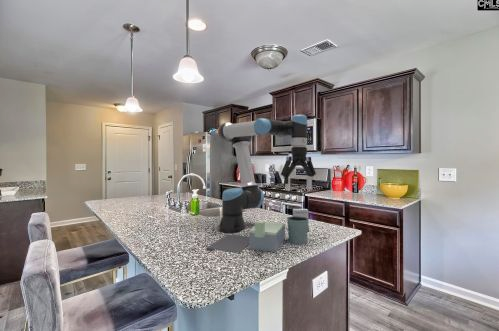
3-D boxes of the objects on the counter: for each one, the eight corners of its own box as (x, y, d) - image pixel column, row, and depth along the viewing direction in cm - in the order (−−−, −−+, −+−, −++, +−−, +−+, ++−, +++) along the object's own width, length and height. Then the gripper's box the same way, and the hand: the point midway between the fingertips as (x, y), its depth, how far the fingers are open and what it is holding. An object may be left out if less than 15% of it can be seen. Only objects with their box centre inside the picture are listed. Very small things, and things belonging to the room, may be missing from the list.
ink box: (307, 228, 145) (307, 208, 145) (308, 231, 141) (308, 210, 140) (292, 228, 146) (292, 208, 146) (293, 230, 141) (293, 209, 141)
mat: (206, 250, 110) (206, 247, 110) (227, 236, 131) (227, 234, 131) (239, 254, 105) (239, 252, 105) (256, 239, 125) (256, 237, 125)
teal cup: (295, 247, 113) (295, 221, 113) (282, 241, 122) (282, 217, 122) (312, 244, 118) (312, 219, 118) (299, 238, 127) (299, 215, 127)
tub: (249, 250, 110) (249, 232, 109) (261, 238, 126) (261, 223, 126) (275, 254, 105) (275, 235, 105) (284, 241, 122) (284, 225, 122)
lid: (245, 237, 105) (245, 221, 105) (261, 224, 126) (261, 211, 126) (272, 240, 101) (272, 223, 101) (284, 226, 122) (284, 212, 122)
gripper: (283, 145, 114) (282, 192, 114) (323, 147, 126) (322, 189, 126) (273, 146, 120) (273, 190, 121) (312, 148, 132) (312, 187, 133)
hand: (298, 189), depth 123 cm, fingers open, 13 cm apart
